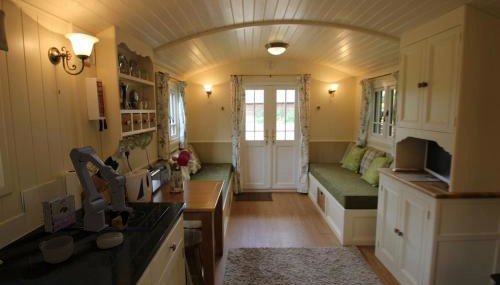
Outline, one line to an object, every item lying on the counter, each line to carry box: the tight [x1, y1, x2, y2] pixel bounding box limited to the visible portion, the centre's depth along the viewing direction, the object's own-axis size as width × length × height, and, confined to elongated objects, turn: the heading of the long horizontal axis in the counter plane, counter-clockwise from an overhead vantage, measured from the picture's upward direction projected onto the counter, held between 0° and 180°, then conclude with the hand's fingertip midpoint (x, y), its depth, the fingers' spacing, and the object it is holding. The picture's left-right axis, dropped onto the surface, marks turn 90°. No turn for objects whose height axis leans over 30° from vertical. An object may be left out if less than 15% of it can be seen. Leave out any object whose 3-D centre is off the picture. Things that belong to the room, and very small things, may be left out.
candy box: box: [41, 193, 78, 234], centre depth 142 cm, size 14×6×16 cm, turn 164°
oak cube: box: [111, 215, 129, 231], centre depth 137 cm, size 5×5×5 cm
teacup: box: [38, 235, 75, 265], centre depth 112 cm, size 14×11×8 cm
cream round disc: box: [96, 231, 124, 249], centre depth 126 cm, size 11×11×3 cm
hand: (120, 224), depth 137 cm, fingers closed on oak cube, 5 cm apart
